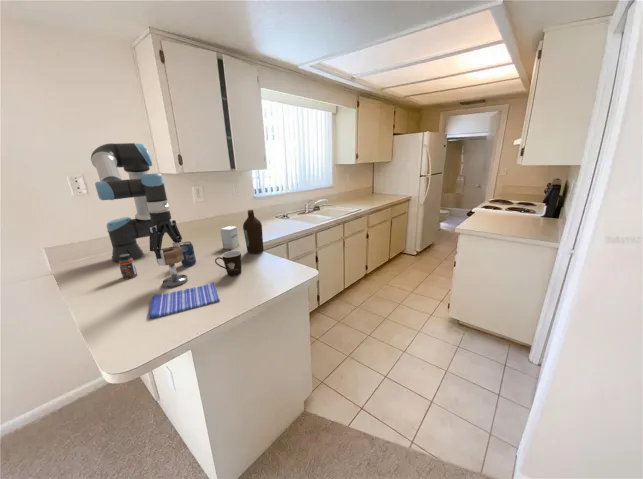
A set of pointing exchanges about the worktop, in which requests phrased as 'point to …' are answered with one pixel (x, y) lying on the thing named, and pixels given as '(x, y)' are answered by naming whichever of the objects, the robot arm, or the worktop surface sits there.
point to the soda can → (188, 254)
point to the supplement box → (229, 237)
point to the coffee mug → (231, 262)
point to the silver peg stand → (174, 278)
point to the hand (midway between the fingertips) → (170, 260)
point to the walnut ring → (172, 255)
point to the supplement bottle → (127, 266)
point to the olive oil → (253, 234)
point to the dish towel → (183, 300)
